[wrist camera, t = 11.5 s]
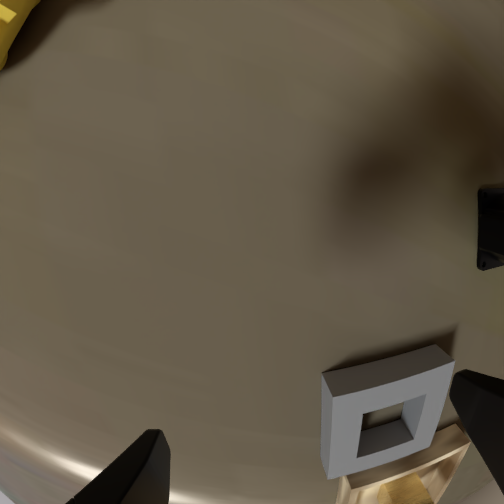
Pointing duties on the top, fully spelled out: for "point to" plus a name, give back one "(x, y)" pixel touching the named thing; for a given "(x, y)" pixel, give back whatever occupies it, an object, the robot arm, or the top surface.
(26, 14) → the teapot
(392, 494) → the pin
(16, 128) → the top surface
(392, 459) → the frame
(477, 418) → the robot arm
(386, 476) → the tray
